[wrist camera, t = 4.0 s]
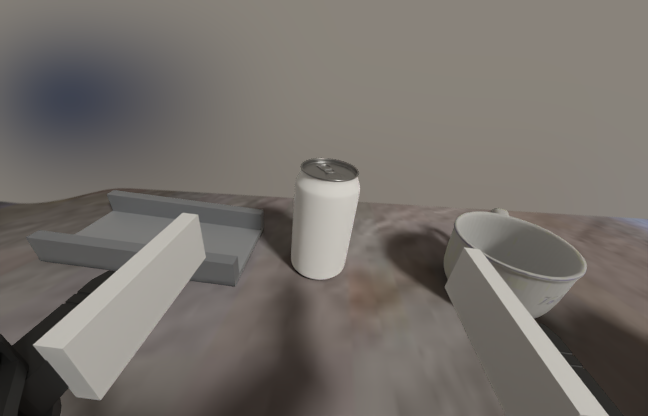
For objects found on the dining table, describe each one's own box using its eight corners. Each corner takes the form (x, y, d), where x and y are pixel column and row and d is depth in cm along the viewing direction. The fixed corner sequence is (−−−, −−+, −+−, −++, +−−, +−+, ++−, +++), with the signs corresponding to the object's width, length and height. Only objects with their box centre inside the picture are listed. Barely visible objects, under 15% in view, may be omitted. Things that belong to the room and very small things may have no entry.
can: (301, 288, 25) (311, 185, 19) (283, 249, 30) (287, 157, 24) (354, 274, 28) (377, 179, 22) (330, 240, 33) (343, 155, 27)
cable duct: (40, 260, 25) (25, 237, 23) (121, 209, 34) (114, 190, 32) (235, 286, 25) (233, 264, 23) (263, 228, 34) (263, 209, 32)
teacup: (541, 360, 22) (603, 300, 18) (420, 294, 27) (447, 236, 23) (533, 274, 32) (571, 223, 28) (447, 238, 37) (469, 191, 33)
